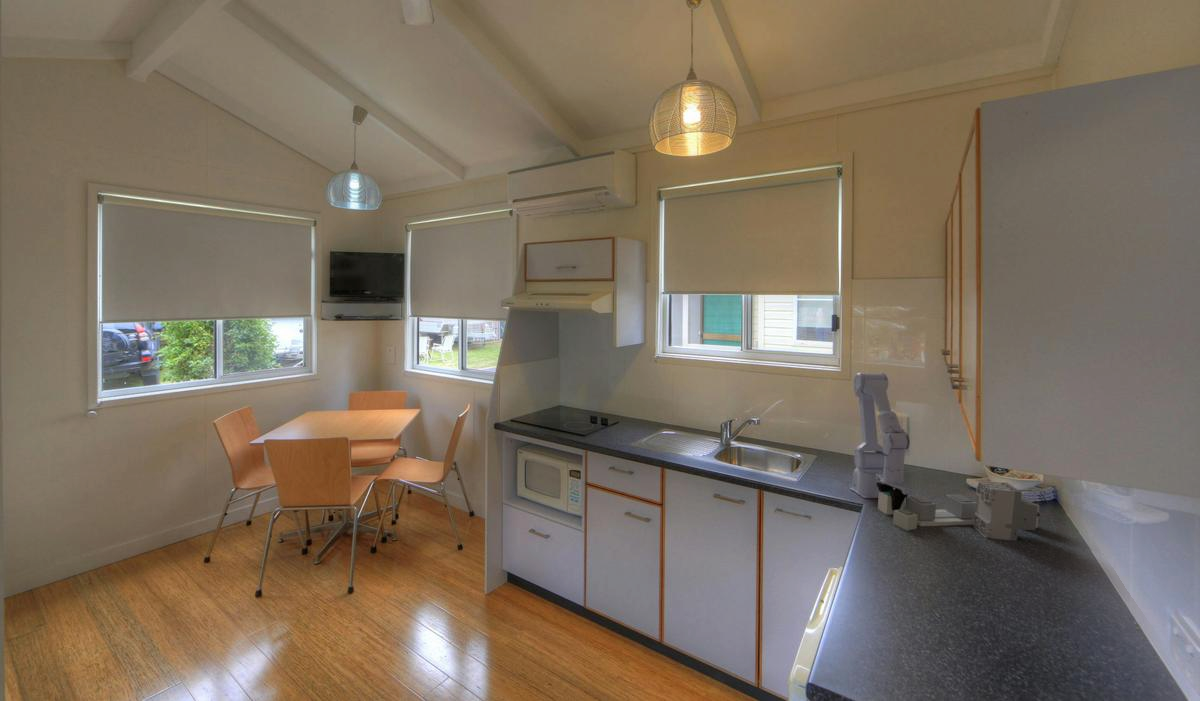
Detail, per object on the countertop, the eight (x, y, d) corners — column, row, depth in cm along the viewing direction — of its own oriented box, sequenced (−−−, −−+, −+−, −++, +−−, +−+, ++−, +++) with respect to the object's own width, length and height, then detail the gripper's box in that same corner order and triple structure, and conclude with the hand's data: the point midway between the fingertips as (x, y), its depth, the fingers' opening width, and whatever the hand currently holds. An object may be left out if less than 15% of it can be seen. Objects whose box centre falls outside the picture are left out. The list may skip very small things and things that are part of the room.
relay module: (877, 509, 176) (879, 491, 176) (894, 508, 177) (895, 490, 176) (886, 514, 172) (887, 496, 171) (903, 514, 172) (904, 495, 172)
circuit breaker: (1040, 543, 153) (1045, 493, 152) (985, 537, 156) (990, 489, 154) (1025, 531, 160) (1030, 484, 159) (973, 527, 163) (977, 480, 162)
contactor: (892, 524, 165) (893, 509, 164) (901, 522, 166) (903, 507, 166) (907, 530, 160) (908, 515, 160) (916, 529, 162) (917, 513, 161)
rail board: (901, 514, 172) (902, 494, 171) (957, 512, 174) (958, 492, 174) (920, 526, 163) (922, 505, 163) (979, 524, 165) (981, 503, 165)
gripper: (868, 461, 180) (866, 499, 181) (896, 475, 165) (893, 516, 167) (888, 460, 180) (885, 498, 182) (917, 475, 166) (914, 516, 167)
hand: (890, 507), depth 174 cm, fingers closed on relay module, 4 cm apart
